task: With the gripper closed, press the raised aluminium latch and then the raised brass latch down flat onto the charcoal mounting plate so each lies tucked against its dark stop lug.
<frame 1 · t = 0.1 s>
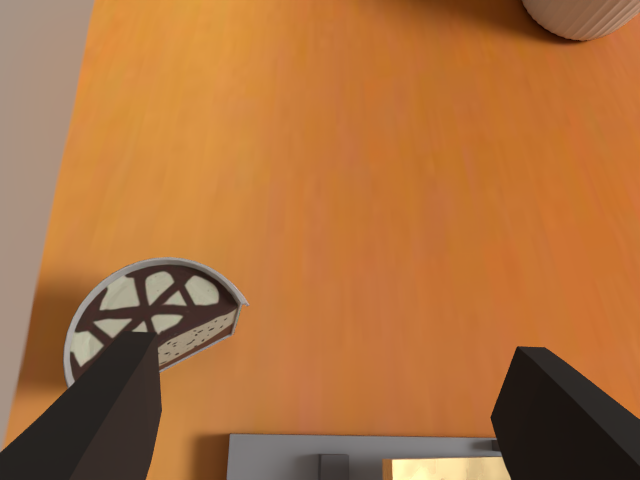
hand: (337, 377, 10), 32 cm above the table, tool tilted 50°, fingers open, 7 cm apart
food container: (166, 328, 41), on the table
canister: (562, 6, 60), on the table
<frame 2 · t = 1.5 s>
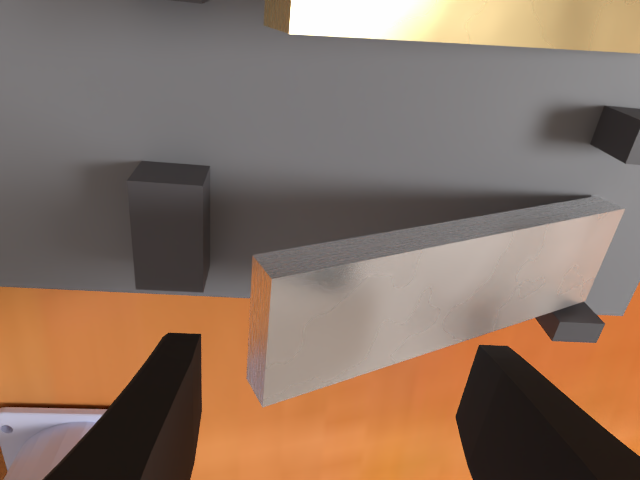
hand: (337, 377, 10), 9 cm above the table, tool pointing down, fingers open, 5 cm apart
aluminium latch: (458, 283, 14), point 6 cm above the table, hinge at 25.0°
mounting plate: (324, 83, 16), on the table
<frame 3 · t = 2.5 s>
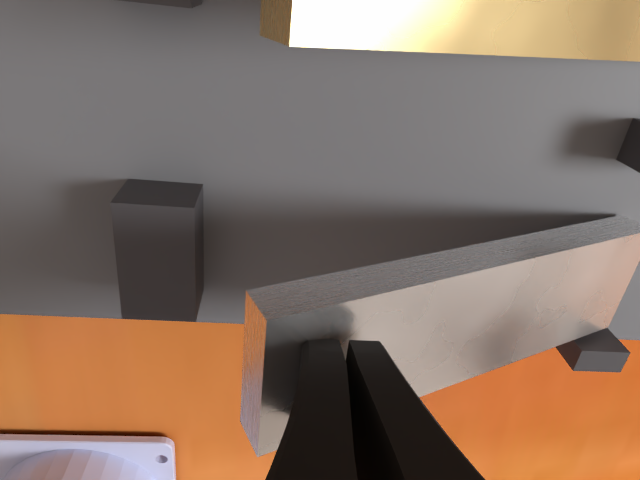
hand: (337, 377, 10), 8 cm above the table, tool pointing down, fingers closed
aluminium latch: (473, 313, 13), point 6 cm above the table, hinge at 24.5°, touching gripper
mounting plate: (327, 93, 15), on the table
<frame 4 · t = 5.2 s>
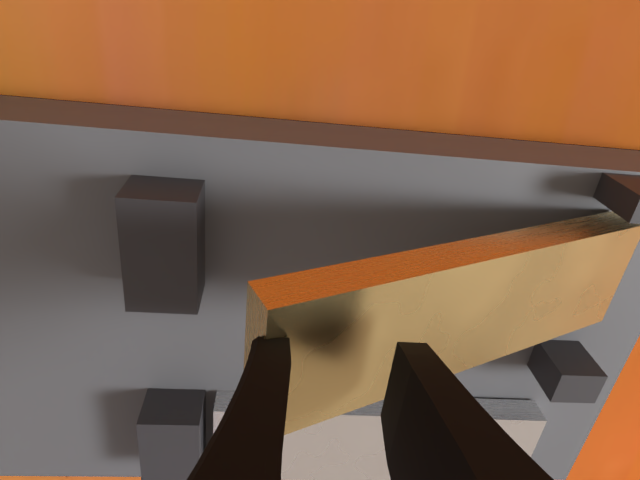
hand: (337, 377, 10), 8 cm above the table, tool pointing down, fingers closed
brass latch: (469, 306, 13), point 6 cm above the table, hinge at 24.6°, touching gripper
aluminium latch: (376, 439, 19), point 3 cm above the table, hinge at -0.5°, touching mounting plate
mounting plate: (303, 301, 19), on the table
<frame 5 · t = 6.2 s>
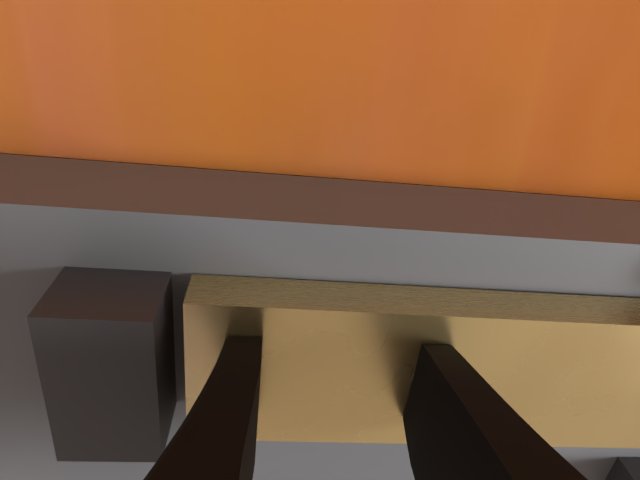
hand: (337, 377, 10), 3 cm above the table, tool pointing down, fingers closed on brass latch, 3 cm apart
brass latch: (471, 370, 11), point 3 cm above the table, hinge at -0.3°, touching gripper
mounting plate: (309, 395, 15), on the table
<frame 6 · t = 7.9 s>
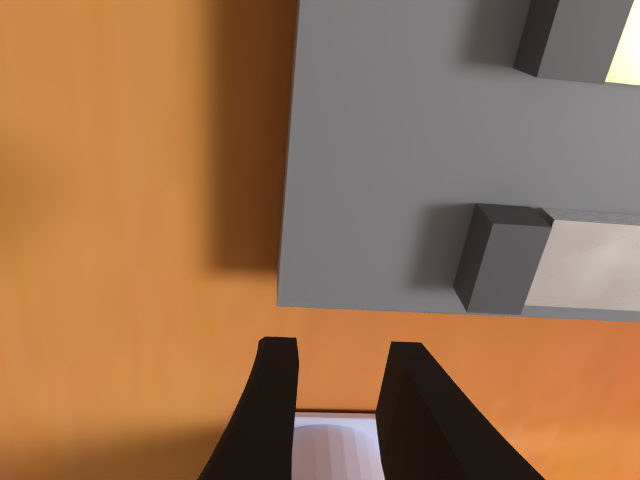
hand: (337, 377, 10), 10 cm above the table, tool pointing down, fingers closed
mounting plate: (603, 131, 19), on the table
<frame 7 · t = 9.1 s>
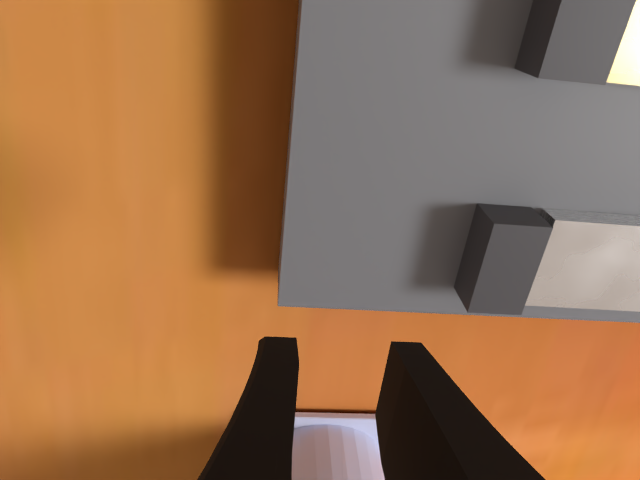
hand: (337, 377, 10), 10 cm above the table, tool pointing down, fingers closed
mounting plate: (604, 132, 19), on the table
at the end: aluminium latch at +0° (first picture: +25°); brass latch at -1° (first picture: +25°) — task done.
